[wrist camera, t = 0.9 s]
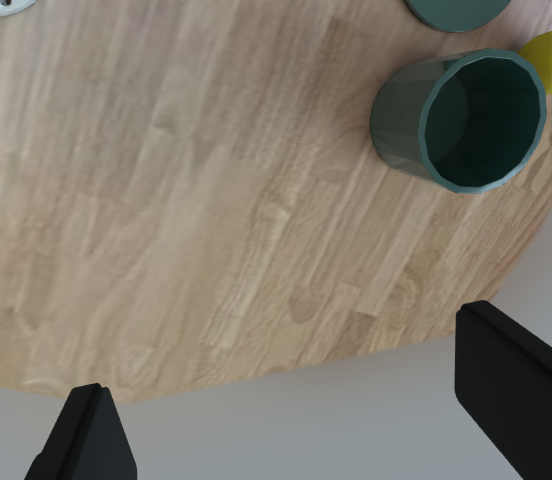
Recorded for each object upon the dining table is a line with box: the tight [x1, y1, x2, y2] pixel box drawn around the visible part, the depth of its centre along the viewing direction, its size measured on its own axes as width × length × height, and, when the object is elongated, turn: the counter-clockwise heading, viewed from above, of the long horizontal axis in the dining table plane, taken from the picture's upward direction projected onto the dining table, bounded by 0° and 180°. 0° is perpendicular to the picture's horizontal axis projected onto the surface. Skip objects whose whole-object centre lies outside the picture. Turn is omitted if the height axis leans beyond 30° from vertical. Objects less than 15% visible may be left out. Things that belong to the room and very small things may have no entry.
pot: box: [370, 48, 547, 194], centre depth 37 cm, size 11×11×10 cm
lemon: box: [518, 31, 552, 94], centre depth 37 cm, size 6×6×8 cm
